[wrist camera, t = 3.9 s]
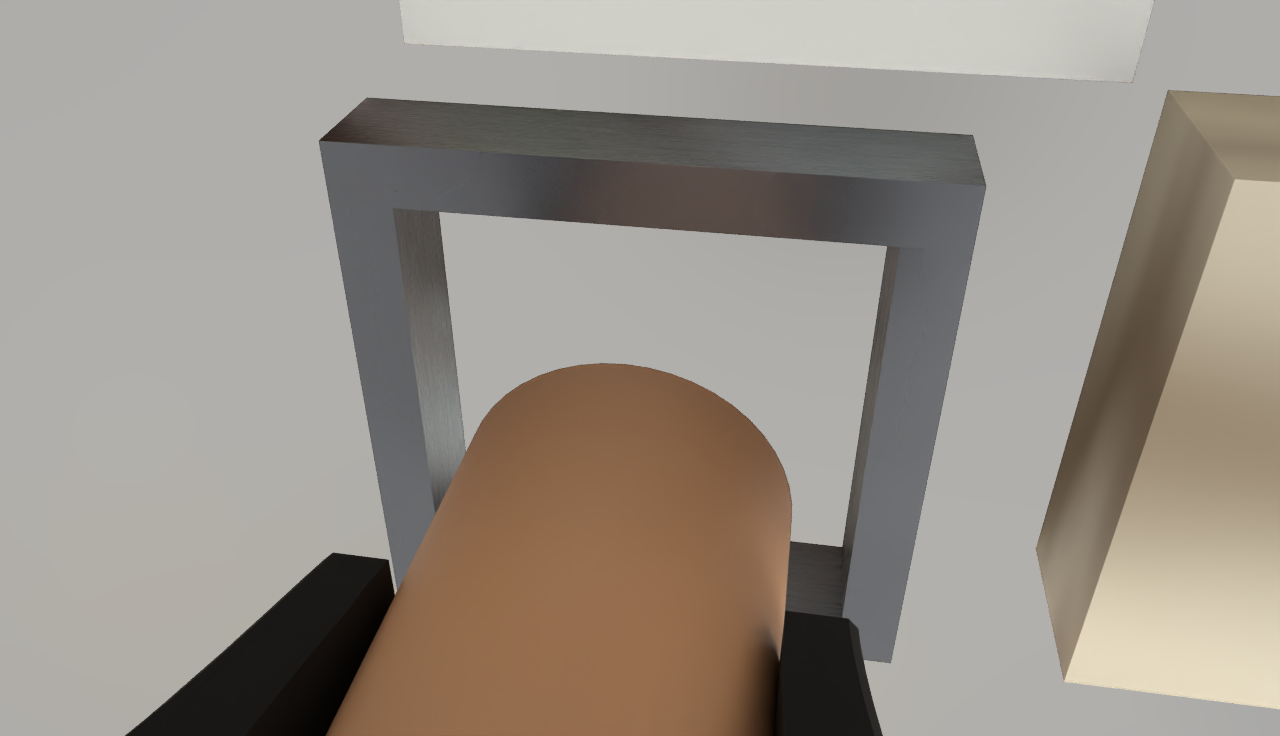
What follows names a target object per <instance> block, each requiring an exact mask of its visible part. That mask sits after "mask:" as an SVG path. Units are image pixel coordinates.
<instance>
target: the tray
mask: <svg viewBox="0 0 1280 736" xmlns="http://www.w3.org/2000/svg"><path fill="white" fill-rule="evenodd" d="M399 4H400V13H401V20H402V29H403V37H404V43H406V44H422V45H440V46H460V47H479V48H496V49H515V50H533V51H551V52H570V53H588V54H606V55H607V54H608V55H626V56H643V57H644V56H645V57H662V58H680V59H699V60H717V61H736V62H754V63H772V64H791V65H810V66H828V67H847V68H865V69H884V70H902V71H921V72H939V73H957V74H976V75H994V76H1013V77H1032V78H1049V79H1050V78H1051V79H1068V80H1069V79H1070V80H1086V81H1104V82H1105V81H1106V82H1123V83H1133V79H1134V75H1135V72H1136V68H1137V64H1138V60H1139V57H1140V53H1141V49H1142V45H1143V41H1144V38H1145V34H1146V30H1147V27H1148V23H1149V19H1150V16H1151V12H1152V8H1153V4H1154V0H399Z"/></svg>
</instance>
